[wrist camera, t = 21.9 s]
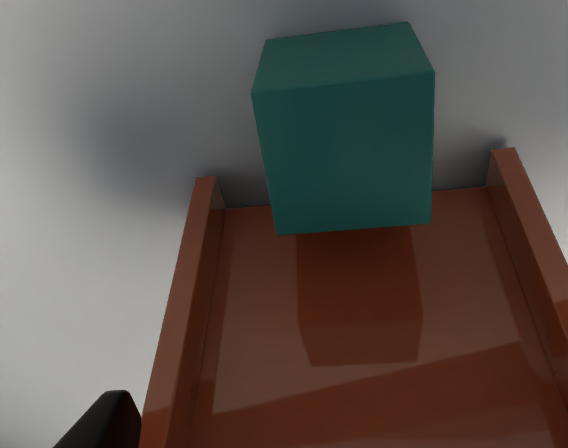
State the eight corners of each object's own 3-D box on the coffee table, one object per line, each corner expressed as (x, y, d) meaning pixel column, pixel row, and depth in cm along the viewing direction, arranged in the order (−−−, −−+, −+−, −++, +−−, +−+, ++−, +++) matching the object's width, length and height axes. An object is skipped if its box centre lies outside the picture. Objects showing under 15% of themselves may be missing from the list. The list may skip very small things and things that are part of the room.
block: (250, 92, 12) (265, 39, 15) (276, 236, 14) (284, 163, 17) (435, 70, 11) (409, 20, 14) (431, 224, 13) (409, 151, 17)
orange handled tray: (105, 804, 9) (-199, 872, 4) (210, 221, 19) (151, 51, 14) (755, 845, 8) (1299, 1000, 3) (504, 197, 17) (544, 2, 13)
